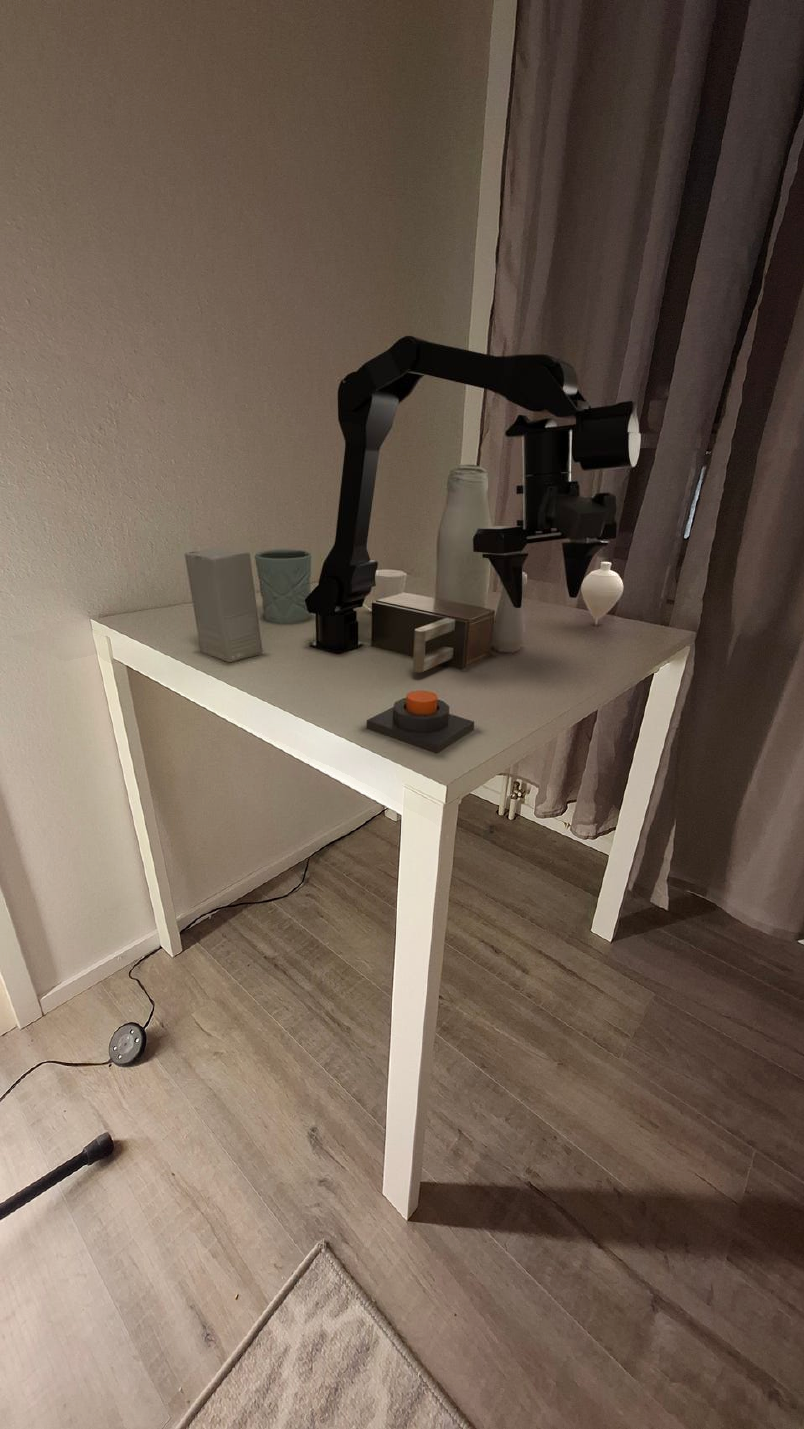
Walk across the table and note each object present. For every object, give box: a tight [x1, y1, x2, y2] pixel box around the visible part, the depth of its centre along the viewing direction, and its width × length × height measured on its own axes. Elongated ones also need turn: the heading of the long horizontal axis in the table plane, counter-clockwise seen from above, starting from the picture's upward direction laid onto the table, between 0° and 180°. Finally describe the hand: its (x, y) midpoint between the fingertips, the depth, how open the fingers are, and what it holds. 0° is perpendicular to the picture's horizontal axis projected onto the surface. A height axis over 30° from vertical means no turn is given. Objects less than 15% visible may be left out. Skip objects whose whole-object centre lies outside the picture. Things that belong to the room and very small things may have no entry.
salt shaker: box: [492, 571, 528, 653], centre depth 101 cm, size 6×6×13 cm
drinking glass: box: [254, 548, 313, 624], centre depth 114 cm, size 10×10×12 cm
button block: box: [366, 697, 475, 755], centre depth 72 cm, size 10×8×3 cm
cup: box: [362, 569, 408, 613], centre depth 120 cm, size 7×10×8 cm
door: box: [370, 601, 468, 673], centre depth 93 cm, size 10×18×7 cm, turn 54°
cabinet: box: [376, 592, 496, 669], centre depth 100 cm, size 8×18×8 cm, turn 54°
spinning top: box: [580, 561, 624, 626], centre depth 117 cm, size 8×8×12 cm
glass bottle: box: [434, 464, 493, 608], centre depth 114 cm, size 10×10×28 cm
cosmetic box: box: [184, 547, 263, 663], centre depth 93 cm, size 8×7×16 cm
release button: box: [405, 690, 438, 714], centre depth 72 cm, size 4×4×2 cm
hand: (545, 602), depth 80 cm, fingers open, 9 cm apart
